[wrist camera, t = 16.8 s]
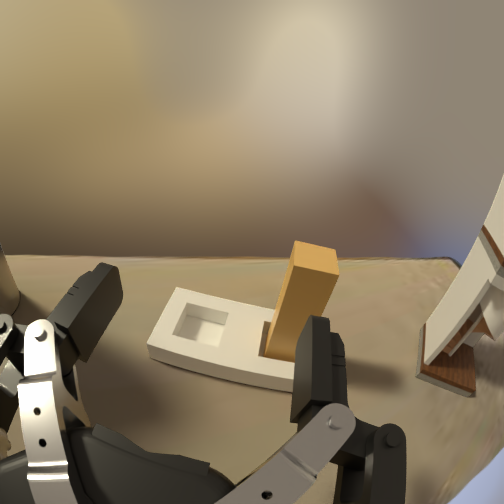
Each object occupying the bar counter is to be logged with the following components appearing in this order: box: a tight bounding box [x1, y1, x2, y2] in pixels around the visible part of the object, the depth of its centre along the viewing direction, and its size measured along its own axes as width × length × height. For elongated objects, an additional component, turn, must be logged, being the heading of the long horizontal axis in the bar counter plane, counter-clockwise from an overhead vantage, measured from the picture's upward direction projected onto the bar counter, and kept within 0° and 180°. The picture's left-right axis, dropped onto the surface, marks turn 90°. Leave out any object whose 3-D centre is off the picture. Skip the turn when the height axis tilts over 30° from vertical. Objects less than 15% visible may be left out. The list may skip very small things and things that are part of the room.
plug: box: [263, 241, 339, 363], centre depth 28 cm, size 4×4×15 cm
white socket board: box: [147, 287, 295, 392], centre depth 32 cm, size 20×10×3 cm, turn 81°
